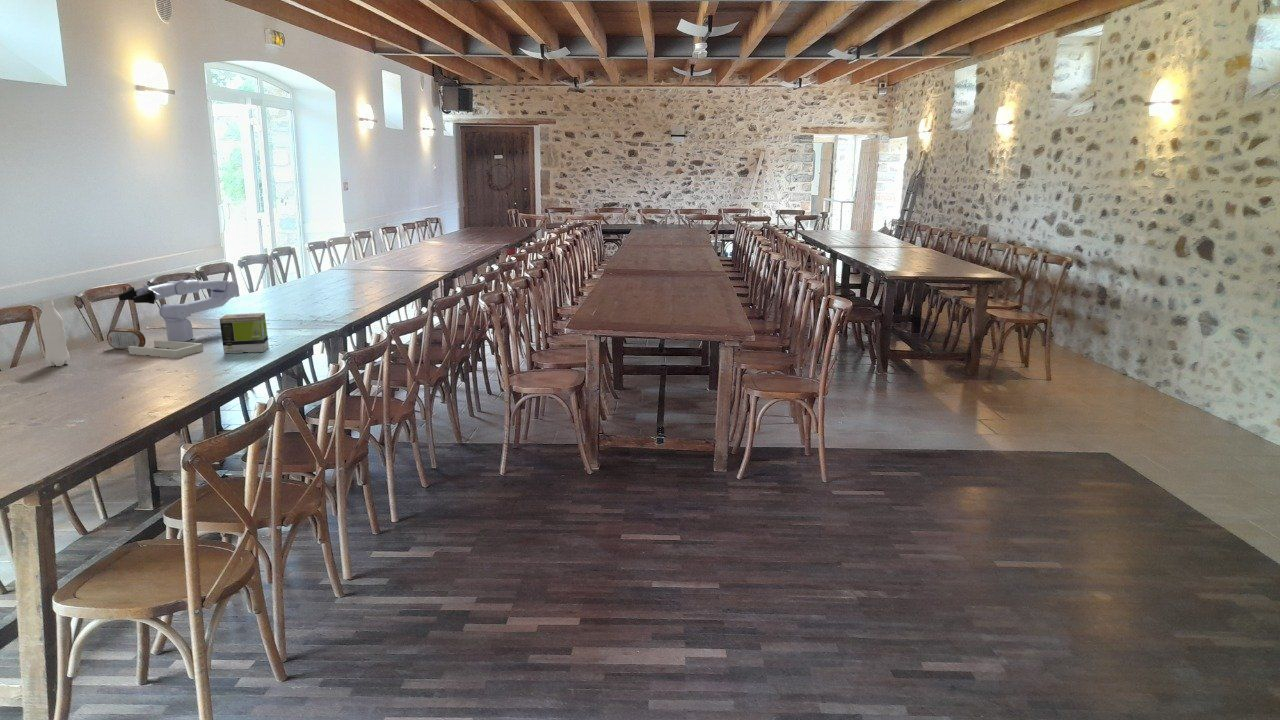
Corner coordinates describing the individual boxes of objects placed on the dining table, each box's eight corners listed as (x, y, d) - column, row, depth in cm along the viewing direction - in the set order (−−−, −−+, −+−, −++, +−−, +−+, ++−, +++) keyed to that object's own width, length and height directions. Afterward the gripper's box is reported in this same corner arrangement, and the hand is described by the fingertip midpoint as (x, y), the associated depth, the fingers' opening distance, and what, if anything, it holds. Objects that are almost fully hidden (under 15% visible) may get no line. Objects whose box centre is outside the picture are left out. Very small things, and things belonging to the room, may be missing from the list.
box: (156, 346, 313) (155, 339, 313) (203, 350, 308) (202, 343, 307) (129, 354, 301) (128, 346, 300) (177, 358, 296) (176, 350, 295)
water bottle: (74, 364, 284) (63, 298, 278) (52, 368, 278) (40, 301, 272) (65, 362, 288) (53, 296, 282) (43, 365, 282) (31, 299, 276)
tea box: (269, 347, 316) (265, 312, 312) (264, 352, 307) (260, 316, 303) (229, 348, 312) (225, 313, 309) (223, 354, 303) (218, 318, 299)
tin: (147, 349, 310) (144, 328, 308) (141, 350, 307) (138, 330, 305) (113, 347, 311) (110, 327, 309) (107, 349, 308) (103, 329, 306)
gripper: (142, 280, 314) (111, 286, 302) (169, 285, 310) (139, 291, 298) (144, 297, 316) (114, 303, 304) (171, 301, 312) (141, 308, 300)
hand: (126, 298), depth 301 cm, fingers open, 7 cm apart
